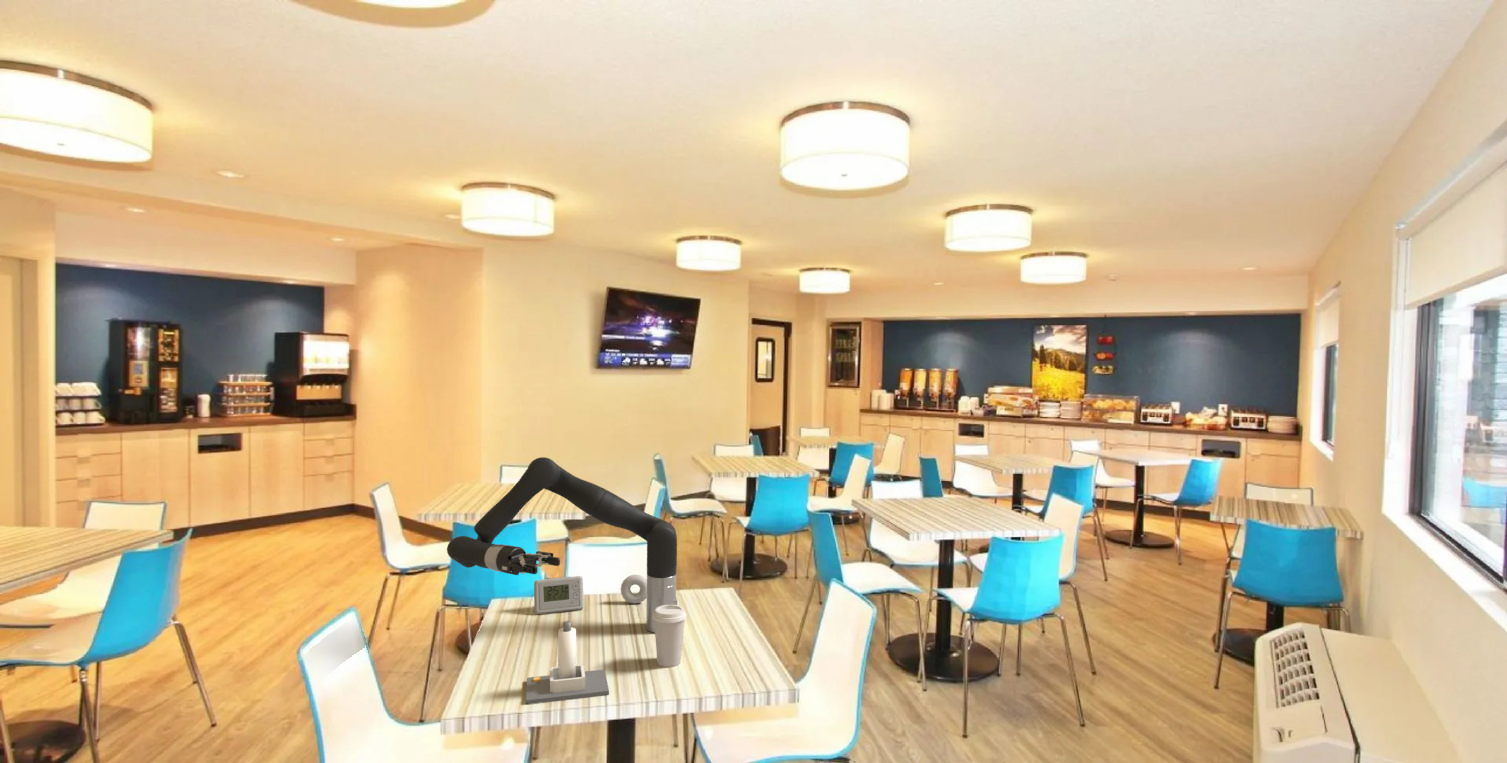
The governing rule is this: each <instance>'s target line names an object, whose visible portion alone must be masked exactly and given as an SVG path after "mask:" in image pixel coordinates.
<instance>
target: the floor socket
mask: <svg viewBox="0 0 1507 763" xmlns="http://www.w3.org/2000/svg"><path fill="white" fill-rule="evenodd" d="M525 691H526V692H525V694H526V695H525V697H526V698H525V699H526V700H525V704H526V703H534V704H540V703H539V702H542V703H548V702H557V701H566V700H577V699H584V698H591V697H593V698H594V697H601V696H610V690H609V684H608V679H607V674H606V671H605V669H604V668H603V669H594V670H588V671H586V670H585V666H584V664H576V678H568V679H558V666H552V667H549V675H541V676H531V677H530V676H529V677H526V690H525Z"/></svg>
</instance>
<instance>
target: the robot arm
mask: <svg viewBox="0 0 1507 763" xmlns="http://www.w3.org/2000/svg"><path fill="white" fill-rule="evenodd" d="M543 490H546V491H548V492H551V493H554V494H556V495H559V496H560V497H562V498H564V499H566V500H568V502H570V503H571V504H572V505H574V506H575V507H576V508H578V509H579V510H581V511H582V512H584V513H585V514H587V515H589V516H590V517H593V519H596V520H598V521H600V522H601V523H604V524H606V525H609V526H612V527H615V528H619V529H623V530H626V531H629V532H632V533H633V534H636V535H637V536H638V537H640V538H642V540H644V541H646V580H647V598H646V621H645V624H646V626H645V627H646V628H645V629H646V630H647V631H648V632H651V633H654V634H655V625H654V620H653V618H652V616H653V613H654V612H655V609H656V608H657V607H659V606H662V605H678V598H677V566H678V565H677V563H678V535H677V531H676V529H675V527H674V526H673V525H672V523H670V522H668V521H666V520H665V519H664V520H663V519H661V518H659V517H656V516H654V515H652V514H649V513H646V512H645V511H642V510H641V509H640V508H637V507H636V506H635V505H633V504H632V503H630V502H629V501H627V500H625V499H624V498H622V497H620V496H619V495H617V494H615V493H613V492H612V491H610V490H608V489H606V488H604V487H602V486H600V485H597V484H595V483H592V482H590V481H587V480H585V479H583V478H582V479H581V478H579V477H577V476H576V475H573V474H571V473H570V472H569V471H567V470H566V469H564V468H562V467H561V466H560V465H558V463H556V462H555V461H554V460H552V459H551V458H549V457H543V456H541V457H537V458H535V459H533V460H532V461H531V462H530V463H529V464H528V467H527V469H525V470H524V472H523V474H522V475H521V477H520V478H519V479H518V481H517V482H516V483H515V484H514V486H513V487H512V488H511V489H510V490H509V491H508V492H507V493H506V494H505V495H504V496H503V497H501V499H500V500H499V501H497V502H496V503H495V505H493V506H492V507H491V508H490V509H489V510H488V511H487V512H486V513H485V514H483V516H482V517H481V518H480V519H479V520H478V521H477V522H476V524H475V525H474V527H473V530H474V533H475V534H476V535H477V537H476V538H473V537H470V536H467V535H459V536H455V537H453V539H451V540H450V541H449V543H448V545H447V548H446V553H447V554H448V556H449V558H450V559H452V560H453V561H455V562H456V563H458V564H460V565H461V566H462V567H464V568H469V569H470V568H473V567H475V566H477V567H479V568H483V569H489V570H491V571H494V572H500V573H504V574H505V573H506V574H509V575H514V576H519V574H531V575H537V574H538V568H540V567H542V566H543V565H549V566H555V567H558V566H560V565H561V559H560V557H557V556H554V552H546V551H539V550H537V551H535V553H531V552H528V553H527V552H526V551H525V549H524V548H522V547H521V546H516V545H515V546H514V545H509V544H508V545H507V544H496V543H493V542H494V540H495V539H496V538H497V537H498V536H499V535H500V533H502V532H503V531H504V529H505V528H506V527H508V526H509V524H510V523H511V522H512V521H513V520H514V519H515V517H516V516H518V514H519V512H520V511H521V510H522V509H523V508H524V506H526V505H527V504H528V502H530V501H531V500H532V499H533V498H534V497H535V496H536V495H537V494H538V493H540V492H542V491H543ZM537 562H538V563H537Z"/></svg>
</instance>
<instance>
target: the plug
mask: <svg viewBox="0 0 1507 763" xmlns="http://www.w3.org/2000/svg"><path fill="white" fill-rule="evenodd" d="M557 633H558V635H557V636H558V638H557V639H558V640H557V643H558V644H557V646H558V647H557V649H558V650H557V656H558V657H557V658H558V659H557V667H558V679H568V678H576V665H577V660H576V659H577V655H576V654H577V629H576V628H575V627H572V621H568V620H567V621H563V624H562V628H559V629H558V632H557Z"/></svg>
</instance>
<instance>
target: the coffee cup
mask: <svg viewBox="0 0 1507 763" xmlns="http://www.w3.org/2000/svg"><path fill="white" fill-rule="evenodd" d="M652 618H653V620H654V625H655V633H654V636H655V648H656V660H657V662H656V663H657V665H658V666H659V667H664V668H672V667H673V668H674V667H677V666H679V665H680V664H681V663H682V660H681V659H682V651H683V643H684V629H685V620H686V619H687V613H686V611H685V609H684V607H683V606H680V605H678V604H677V605H662V606H659V607H657V608H656V609H655V612H654V613H653V616H652Z"/></svg>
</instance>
